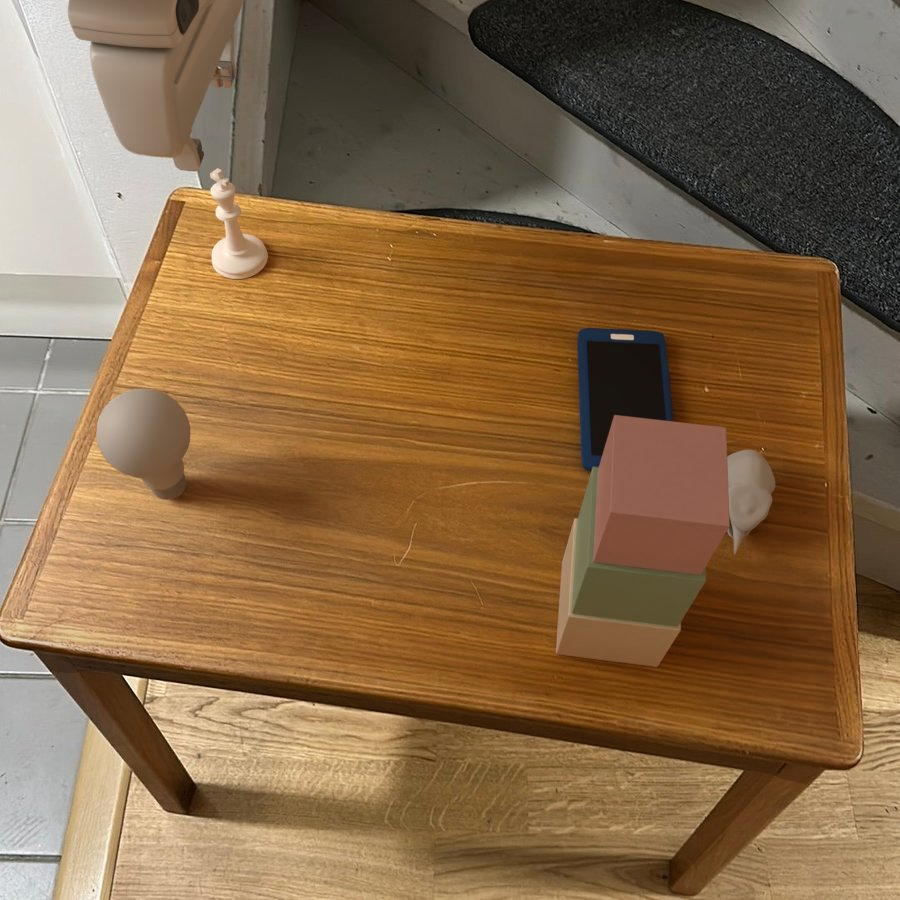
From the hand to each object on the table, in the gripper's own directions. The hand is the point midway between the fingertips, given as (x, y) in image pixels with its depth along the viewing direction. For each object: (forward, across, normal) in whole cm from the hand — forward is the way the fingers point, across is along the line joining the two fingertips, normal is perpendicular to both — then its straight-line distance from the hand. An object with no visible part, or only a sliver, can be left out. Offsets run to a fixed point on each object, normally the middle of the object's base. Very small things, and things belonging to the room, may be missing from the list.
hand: (208, 121), depth 70 cm
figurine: (+15, +20, +43) cm, 50 cm away
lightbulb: (+15, +24, 0) cm, 28 cm away
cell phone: (+15, +11, +34) cm, 39 cm away
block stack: (+15, +29, +34) cm, 47 cm away
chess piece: (+15, 0, 0) cm, 15 cm away
